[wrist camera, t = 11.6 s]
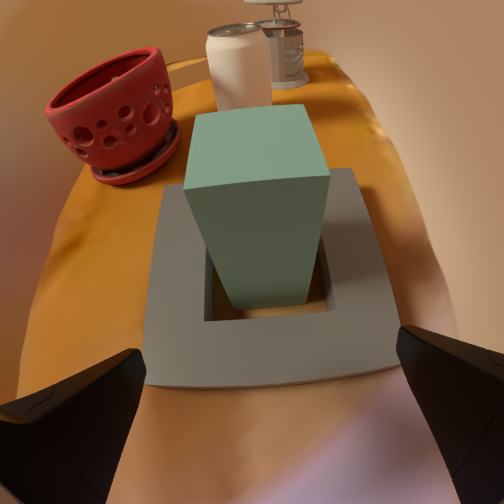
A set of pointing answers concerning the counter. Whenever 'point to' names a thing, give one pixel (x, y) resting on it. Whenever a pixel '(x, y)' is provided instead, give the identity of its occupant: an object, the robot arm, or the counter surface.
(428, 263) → the counter surface
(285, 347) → the socket plate
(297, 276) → the plug block
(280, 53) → the french press
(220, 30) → the can
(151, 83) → the plant pot
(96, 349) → the counter surface
